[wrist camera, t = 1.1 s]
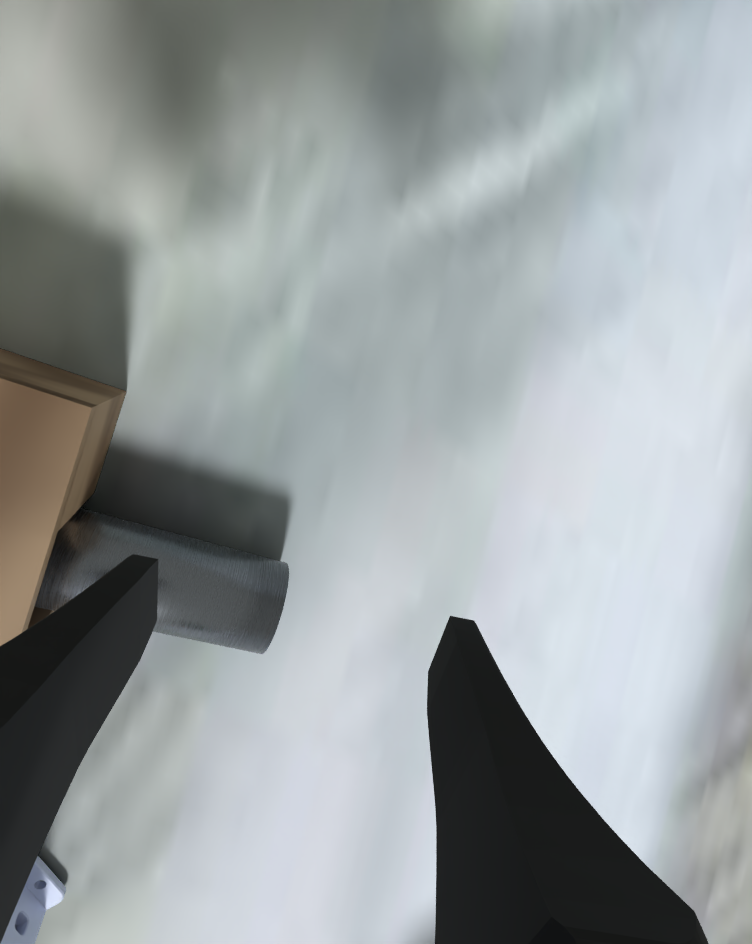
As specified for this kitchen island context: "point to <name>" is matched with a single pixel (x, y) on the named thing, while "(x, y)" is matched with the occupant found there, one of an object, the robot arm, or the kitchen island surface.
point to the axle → (173, 579)
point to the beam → (44, 471)
